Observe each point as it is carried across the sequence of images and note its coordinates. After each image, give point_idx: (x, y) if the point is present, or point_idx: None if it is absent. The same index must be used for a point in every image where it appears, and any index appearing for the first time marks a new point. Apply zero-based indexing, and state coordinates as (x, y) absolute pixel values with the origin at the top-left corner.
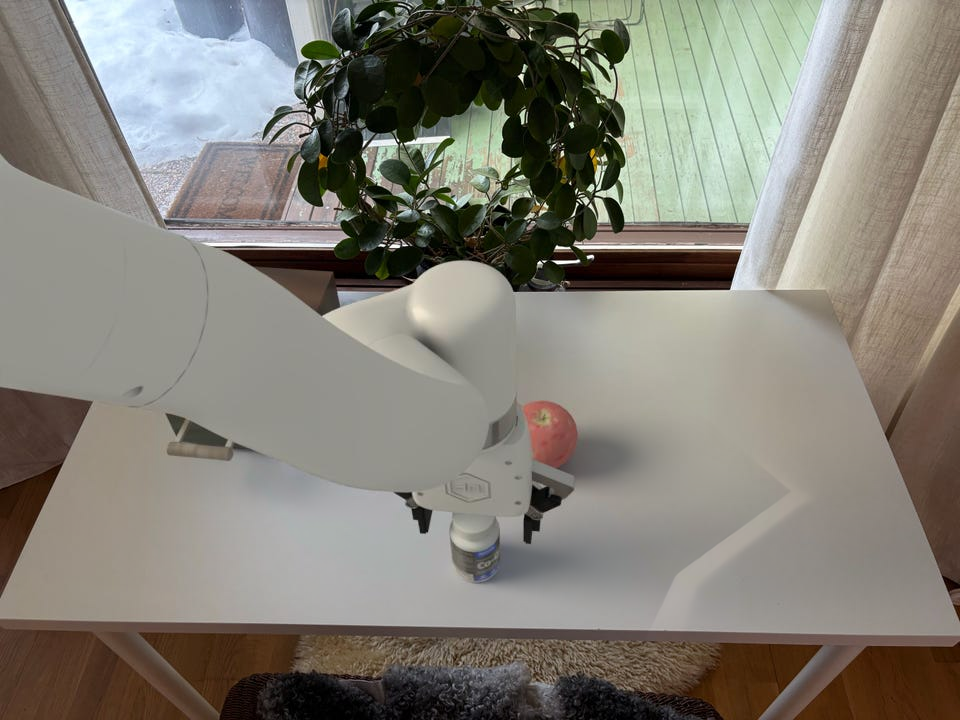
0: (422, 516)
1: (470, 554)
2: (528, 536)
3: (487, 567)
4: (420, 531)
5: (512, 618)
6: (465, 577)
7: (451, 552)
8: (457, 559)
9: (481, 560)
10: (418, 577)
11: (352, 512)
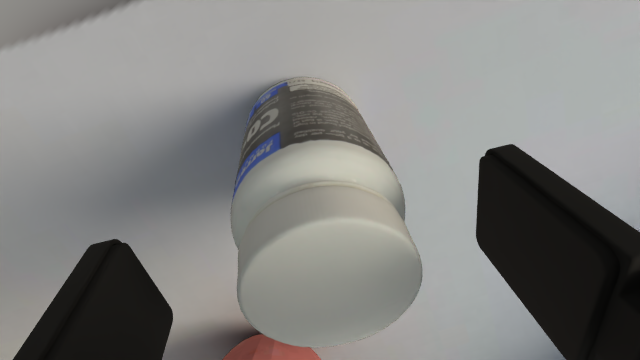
0: (589, 225)
1: (300, 134)
2: (71, 285)
3: (254, 121)
4: (518, 151)
5: (146, 15)
6: (310, 81)
7: (368, 128)
8: (344, 111)
9: (266, 130)
10: (428, 45)
11: (601, 146)
